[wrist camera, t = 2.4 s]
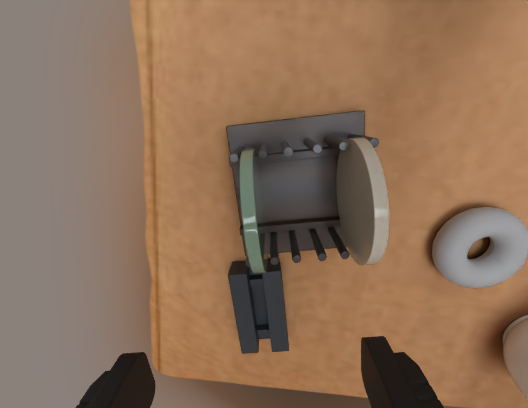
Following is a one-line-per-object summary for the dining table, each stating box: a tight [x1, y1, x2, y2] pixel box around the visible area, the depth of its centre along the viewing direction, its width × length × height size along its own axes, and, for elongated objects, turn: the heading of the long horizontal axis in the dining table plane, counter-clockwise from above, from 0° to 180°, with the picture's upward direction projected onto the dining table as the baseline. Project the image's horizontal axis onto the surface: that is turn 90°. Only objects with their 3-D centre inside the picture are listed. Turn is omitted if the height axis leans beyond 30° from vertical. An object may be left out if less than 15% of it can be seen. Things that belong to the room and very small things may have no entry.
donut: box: [432, 207, 528, 288], centre depth 30 cm, size 10×4×10 cm
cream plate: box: [336, 137, 389, 266], centre depth 23 cm, size 11×1×11 cm, turn 6°
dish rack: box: [226, 110, 379, 267], centre depth 26 cm, size 15×14×8 cm
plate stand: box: [228, 259, 289, 354], centre depth 33 cm, size 12×6×3 cm, turn 6°
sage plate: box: [240, 149, 268, 274], centre depth 23 cm, size 11×1×11 cm, turn 6°
